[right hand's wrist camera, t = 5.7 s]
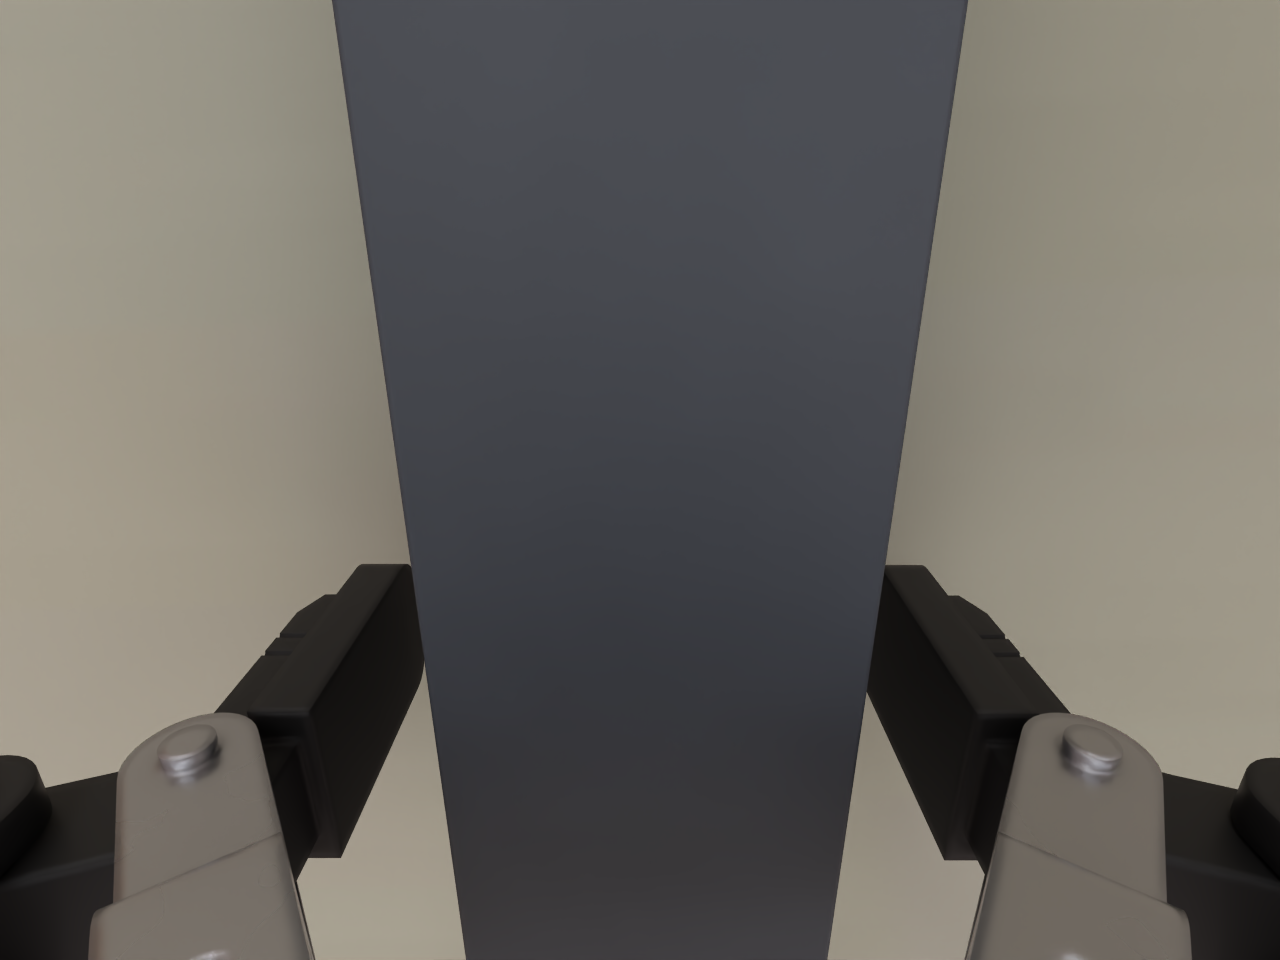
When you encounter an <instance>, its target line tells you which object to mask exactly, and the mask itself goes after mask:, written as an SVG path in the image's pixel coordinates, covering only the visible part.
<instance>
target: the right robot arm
mask: <svg viewBox="0 0 1280 960" xmlns="http://www.w3.org/2000/svg"><path fill="white" fill-rule="evenodd" d="M423 667H424V654H423V647H422V640H421V633H420V625H419V618H418V611H417V604H416V597H415V590H414V582H413V575H412V568H411V566H410V565H408V564H361V565H359V566H358V567H357V568H356V570H355V571H354V572H353V574H352V575H351V576H350V577H349V579H348V580H347V581H346V583H345V584H344V585H343V587H342V588H341V589H340V590H339V592H338V593H337V594H336V595H324V596H322V597H321V598H319V599H318V600H316V601H314V602H313V603H311V604H310V605H308V606H307V607H305V608H304V609H302V610H300V611H299V612H297V613H296V615H295V616H294V617H293V618H292V619H291V621H290V622H289V623H288V624H287V626H286V627H285V628H284V629H283V630H282V632H281V633H280V637H279V638H276V639H275V640H274V641H273V642H272V644H271V645H270V646H269V647H268V648H267V650H266V651H265V656H261V657H260V658H259V659H258V661H257V662H256V663H255V664H254V665H253V667H252V668H251V669H250V670H249V671H248V673H247V674H246V675H245V676H244V677H243V679H242V680H241V681H240V682H239V683H238V685H237V686H236V687H235V688H234V689H233V691H232V692H231V693H230V694H229V696H228V697H227V698H226V699H225V700H224V702H223V703H222V704H221V705H220V706H219V708H218V709H217V710H216V711H215V712H214V713H211V714H205V715H200V716H196V717H193V718H189V719H186V720H183V721H181V722H178V723H175V724H173V725H171V726H169V727H167V728H165V729H163V730H161V731H159V732H158V733H156V734H154V735H153V736H151V737H150V738H148V739H147V740H145V741H144V742H143V743H141V744H140V745H139V746H138V747H137V748H135V749H134V750H133V751H132V753H131V754H130V755H129V756H128V757H127V758H126V760H125V761H124V762H123V764H122V765H121V768H120V770H119V772H115V773H111V774H106V775H102V776H97V777H93V778H88V779H84V780H79V781H75V782H70V783H66V784H61V785H57V786H52V787H47V788H45V786H44V784H43V782H42V779H41V777H40V774H39V772H38V769H37V767H36V765H35V764H34V763H33V762H32V761H31V760H29V759H27V758H25V757H21V756H13V755H3V756H0V960H316V959H315V955H314V951H313V947H312V942H311V938H310V934H309V930H308V925H307V921H306V917H305V913H304V909H303V904H302V900H301V896H300V892H299V888H298V884H297V879H298V877H299V875H300V873H301V871H302V869H303V867H304V865H305V863H306V861H307V859H308V858H341V856H342V854H343V852H344V850H345V848H346V845H347V843H348V841H349V839H350V837H351V834H352V832H353V830H354V828H355V826H356V823H357V821H358V819H359V817H360V815H361V812H362V810H363V808H364V806H365V804H366V801H367V799H368V797H369V795H370V792H371V790H372V788H373V786H374V784H375V781H376V779H377V777H378V775H379V773H380V770H381V768H382V766H383V764H384V762H385V759H386V757H387V755H388V753H389V751H390V748H391V746H392V744H393V742H394V740H395V737H396V735H397V733H398V731H399V729H400V726H401V724H402V722H403V720H404V718H405V715H406V713H407V711H408V709H409V707H410V704H411V702H412V700H413V698H414V696H415V693H416V691H417V689H418V687H419V684H420V681H421V678H422V673H423ZM867 693H868V695H869V698H870V700H871V702H872V704H873V706H874V708H875V711H876V713H877V715H878V717H879V719H880V721H881V724H882V726H883V728H884V730H885V732H886V734H887V737H888V739H889V741H890V743H891V745H892V747H893V750H894V752H895V754H896V756H897V758H898V761H899V763H900V765H901V767H902V769H903V771H904V774H905V776H906V778H907V780H908V782H909V784H910V787H911V789H912V791H913V793H914V795H915V797H916V800H917V802H918V804H919V806H920V808H921V810H922V813H923V815H924V817H925V819H926V821H927V824H928V826H929V828H930V830H931V832H932V834H933V837H934V839H935V841H936V843H937V845H938V847H939V850H940V852H941V854H942V856H943V858H944V860H978V862H979V864H980V866H981V868H982V870H983V872H984V874H985V876H984V880H983V884H982V888H981V892H980V896H979V900H978V904H977V909H976V913H975V917H974V921H973V925H972V930H971V934H970V938H969V942H968V947H967V951H966V955H965V959H964V960H1280V758H1264V759H1260V760H1256V761H1255V762H1253V763H1251V764H1250V765H1249V766H1248V768H1247V769H1246V771H1245V774H1244V776H1243V779H1242V781H1241V783H1240V786H1239V788H1238V789H1233V788H1229V787H1224V786H1219V785H1215V784H1210V783H1206V782H1201V781H1197V780H1192V779H1188V778H1183V777H1179V776H1174V775H1170V774H1166V773H1163V772H1161V770H1160V768H1159V765H1158V764H1157V762H1156V761H1155V760H1154V758H1153V757H1152V756H1151V755H1150V754H1149V753H1148V751H1147V750H1146V749H1145V748H1143V747H1142V746H1141V745H1140V744H1139V743H1137V742H1136V741H1135V740H1133V739H1132V738H1130V737H1129V736H1127V735H1126V734H1124V733H1122V732H1121V731H1119V730H1117V729H1115V728H1113V727H1111V726H1109V725H1107V724H1105V723H1102V722H1099V721H1097V720H1094V719H1091V718H1087V717H1084V716H1080V715H1075V714H1071V713H1070V712H1069V711H1068V710H1067V709H1066V707H1065V706H1064V705H1063V704H1062V703H1061V701H1060V700H1059V699H1058V698H1057V697H1056V695H1055V694H1054V693H1053V692H1052V691H1051V689H1050V688H1049V687H1048V686H1047V685H1046V683H1045V682H1044V681H1043V680H1042V679H1041V677H1040V676H1039V675H1038V674H1037V673H1036V671H1035V670H1034V669H1033V668H1032V667H1031V666H1030V664H1029V663H1028V662H1027V661H1026V660H1025V658H1024V657H1020V652H1019V651H1018V650H1017V649H1016V648H1015V646H1014V645H1013V644H1012V643H1011V642H1010V640H1009V639H1005V634H1004V633H1003V632H1002V631H1001V630H1000V628H999V627H998V626H997V625H996V624H995V622H994V621H993V620H992V619H991V618H990V617H989V615H988V614H987V613H985V612H984V611H982V610H981V609H979V608H977V607H976V606H974V605H973V604H971V603H970V602H968V601H966V600H965V599H963V598H962V597H960V596H948V595H947V594H946V592H945V591H944V590H943V589H942V587H941V586H940V585H939V583H938V582H937V581H936V580H935V578H934V577H933V576H932V574H931V573H930V572H929V571H928V569H927V568H926V567H925V566H923V565H885V569H884V576H883V583H882V590H881V596H880V603H879V610H878V617H877V624H876V630H875V637H874V644H873V651H872V658H871V664H870V671H869V678H868V685H867Z"/></svg>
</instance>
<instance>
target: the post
mask: <svg viewBox="0 0 1280 960" xmlns="http://www.w3.org/2000/svg"><path fill="white" fill-rule="evenodd" d="M332 3H333V10H334V18H335V25H336V32H337V39H338V46H339V53H340V60H341V68H342V75H343V82H344V89H345V96H346V103H347V110H348V118H349V125H350V132H351V139H352V146H353V153H354V161H355V168H356V175H357V182H358V189H359V196H360V203H361V211H362V218H363V225H364V232H365V239H366V246H367V254H368V261H369V268H370V275H371V282H372V289H373V296H374V304H375V311H376V318H377V325H378V332H379V339H380V346H381V354H382V361H383V368H384V375H385V382H386V389H387V397H388V404H389V411H390V418H391V425H392V432H393V439H394V447H395V454H396V461H397V468H398V475H399V482H400V490H401V497H402V504H403V511H404V518H405V525H406V532H407V540H408V547H409V554H410V561H411V568H412V575H413V582H414V590H415V597H416V604H417V611H418V618H419V625H420V633H421V640H422V647H423V654H424V661H425V668H426V675H427V683H428V690H429V697H430V704H431V711H432V718H433V726H434V733H435V740H436V747H437V754H438V761H439V768H440V776H441V783H442V790H443V797H444V804H445V811H446V819H447V826H448V833H449V840H450V847H451V854H452V861H453V869H454V876H455V883H456V890H457V897H458V904H459V911H460V919H461V926H462V933H463V940H464V947H465V954H466V960H827V957H828V950H829V944H830V937H831V930H832V923H833V916H834V910H835V903H836V896H837V889H838V882H839V876H840V869H841V862H842V855H843V848H844V841H845V835H846V828H847V821H848V814H849V807H850V801H851V794H852V787H853V780H854V773H855V767H856V760H857V753H858V746H859V739H860V733H861V726H862V719H863V712H864V705H865V698H866V692H867V685H868V678H869V671H870V664H871V658H872V651H873V644H874V637H875V630H876V624H877V617H878V610H879V603H880V596H881V590H882V583H883V576H884V569H885V562H886V555H887V549H888V542H889V535H890V528H891V521H892V515H893V508H894V501H895V494H896V487H897V481H898V474H899V467H900V460H901V453H902V447H903V440H904V433H905V426H906V419H907V412H908V406H909V399H910V392H911V385H912V378H913V372H914V365H915V358H916V351H917V344H918V338H919V331H920V324H921V317H922V310H923V304H924V297H925V290H926V283H927V276H928V270H929V263H930V256H931V249H932V242H933V235H934V229H935V222H936V215H937V208H938V201H939V195H940V188H941V181H942V174H943V167H944V161H945V154H946V147H947V140H948V133H949V127H950V120H951V113H952V106H953V99H954V92H955V86H956V79H957V72H958V65H959V58H960V52H961V45H962V38H963V31H964V24H965V18H966V11H967V4H968V0H332Z"/></svg>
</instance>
